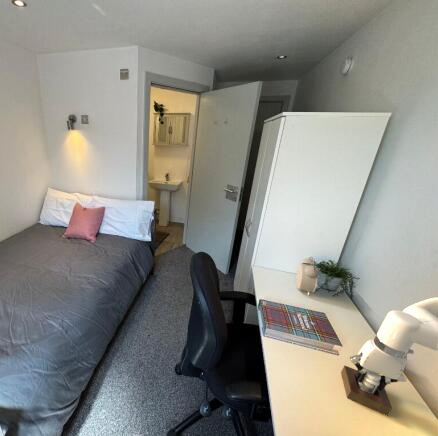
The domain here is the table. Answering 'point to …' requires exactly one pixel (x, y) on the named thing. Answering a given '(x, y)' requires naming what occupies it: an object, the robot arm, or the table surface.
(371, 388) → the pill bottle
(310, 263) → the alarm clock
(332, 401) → the table surface
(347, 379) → the holder
